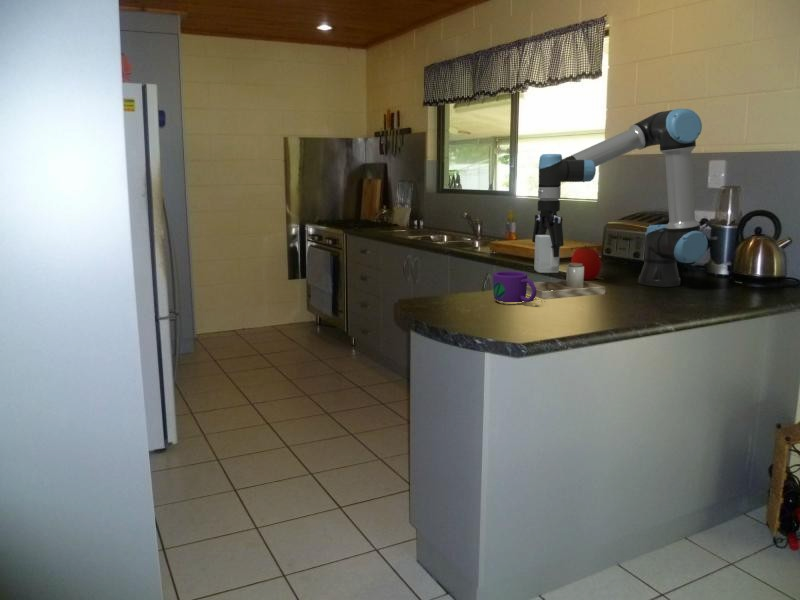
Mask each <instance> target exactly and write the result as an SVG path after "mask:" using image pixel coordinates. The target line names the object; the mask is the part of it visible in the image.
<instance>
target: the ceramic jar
mask: <svg viewBox="0 0 800 600" xmlns="http://www.w3.org/2000/svg"><path fill="white" fill-rule="evenodd" d="M565 278H566V279H565V280H566V287H569V288H573V289H578V288H583V283H584V282H585V280H584V266H583V264H582V263H571V262H569V263H568V265H566V277H565Z"/></svg>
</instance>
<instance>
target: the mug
mask: <svg viewBox="0 0 800 600" xmlns="http://www.w3.org/2000/svg"><path fill="white" fill-rule="evenodd" d="M492 277H493V279H492V291H493V299H494V300H495V299H496V300H498V301H503V302H522V301H524V302H525V303H530V302H533V301H534V300H535V299H536V297H535V296H536V292H537V291H536V287H535V285H534V283H535V282H533V281H532V280H531V279H530V278H528V274H527V272H523V271H516V270H515V271H514V270H504V271H502V270H501V271H496V272H494V273H493V275H492ZM527 283H528V284H529V285H530V286H531V288H532V295H530V296H529V297H530V298H529V297H526V296H527V294H526V291H527ZM534 298H535V299H534Z"/></svg>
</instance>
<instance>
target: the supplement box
mask: <svg viewBox="0 0 800 600" xmlns="http://www.w3.org/2000/svg"><path fill="white" fill-rule="evenodd" d="M551 246H552V242H551V238H550V234H545V235H535V242H534V261H533V262H534V265H533V266H534V267H533V268H534V271H536V272H537V273H539V274H540V273H542V274H543V273H544V274H545V273H548V274H551V273H552V274H553V273H558V274H559V271H560V256H561V255H560V254H561V252H560V251H561V247H559V257H558V266H554V267H551V266H550V257H551Z"/></svg>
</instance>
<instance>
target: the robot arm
mask: <svg viewBox="0 0 800 600" xmlns="http://www.w3.org/2000/svg"><path fill="white" fill-rule="evenodd" d="M702 125H703V123H702V121H701V117H700V116H699V114H698V113H696V112H695V111H694V110H692V109H689V108H675V109H671V110H665V111H663V110H662V111H659V112H656V113H653V114H652V115H650V116H648V117H646V118H643V119H642V120H640V121H638V122H636V123H634V124H631V125H630V126H629V128H628V129H627V130H624V131H623V132H620V133H617V134H615V135H614V136H613V135H612V137H609V138H607V139H605V140H602V141H601V142H597V143H595V144H593V145H591V146H589V147H587V148H585V149H582V150H580V151H577V152H575V153H573V154H571V155H569V156H567V157H564V158H563V156H562V154H561V153H557V154H556V153H545V154H544V153H543V154H541V155H540V157H539V160H538V186H537V187H538V188H537V189H538V190H537V194H538V195H537V198H538V201H537V211H538V212H540V213H539V214H535V215H534V226H533V232H532V233H533V234H532V239H531V241H532V243H535V235H546V234H547V230H548V233H549V235H550V238H551V242H552V246H551V257H550V266H551V267H554V266H558V257H559V258H560V255H559V247H560V248H561V247H564V245H565V244H564V233H563V221H564V219H563V216H560V217H559V216H558V214H557V213H558V212H560V210H561V201H560V199H561V186H562V185H561V184H562V183H586V182H591V181H593V180H594V179H595V177H596V171H597V169H596V167H599V166H600V165H603V164H605V163H607V162H609V161H612V160H615V159H617V158H619V157H621V156H623V155H625V154H628V153H630V152H632V151H634V150H636V149H637V150H644V149H646V148H648V147H652V146H659V151H660V153H661V154H663V155H664V158H665V159H664V160H665V173H666V174H665V175H666V191H667V193H666V194H667V204H668V209H667V210H668V223H666V224H651V225H649V226H647V227H646V232H645V246H644V247H645V248H644V249H645V250H644V261H643V262H644V264H643V266H642V269H641V272H640V274H639V276H638V284H640V285H642V286H643V285H644V286H648V287H649V286H650V287H661V288H662V287H665V288H667V287H668V288H669V287H679V286H680V285H681V277H680V273H679V269H678V266H677V263H678V262H679V263H687V264H690V263H691V264H692V263H695V262H697V261H699V260H700V259H702V256H704V255H705V253H706V252H707V249H708V245H709V244H708V243H709V242H708V238H707V236H706V234H704V233H703V232H702V231H701V223H700V222H699V221H698V220H697V219H696V213H695V212H696V211H695V210H696V209H695V197H694V196H695V193H694V178H693V177H694V175H693V174H694V173H693V158H692V152H693V151H694V149H695V148H696V146H697V144H696V141H697V139H699V135H701V132H702V130H703V129H702V127H703V126H702Z"/></svg>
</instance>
